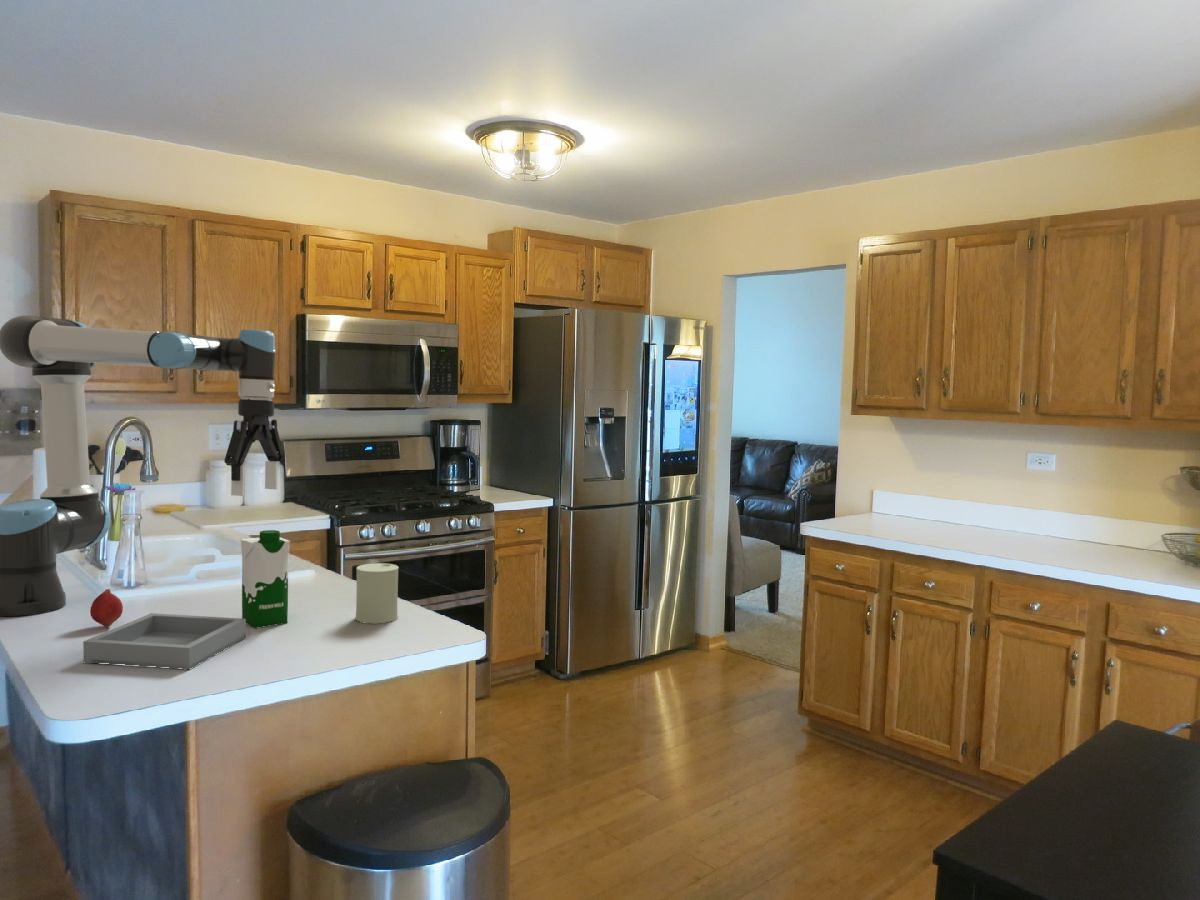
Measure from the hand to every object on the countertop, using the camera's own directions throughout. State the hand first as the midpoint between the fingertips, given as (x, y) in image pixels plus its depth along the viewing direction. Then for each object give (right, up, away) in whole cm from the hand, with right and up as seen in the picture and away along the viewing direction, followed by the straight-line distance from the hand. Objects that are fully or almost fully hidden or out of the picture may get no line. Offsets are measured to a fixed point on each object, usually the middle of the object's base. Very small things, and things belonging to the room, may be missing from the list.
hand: (255, 492), depth 194 cm
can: (+29, -28, -4) cm, 40 cm away
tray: (-4, -29, -31) cm, 43 cm away
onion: (-24, -27, -18) cm, 40 cm away
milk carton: (+6, -28, -10) cm, 30 cm away
